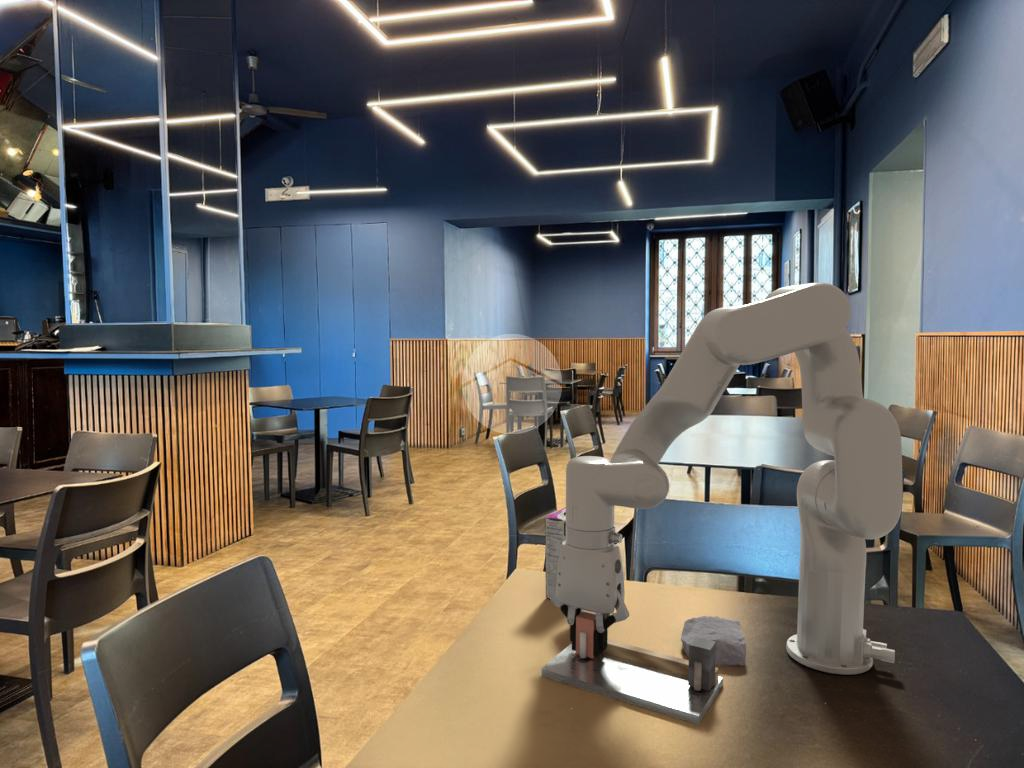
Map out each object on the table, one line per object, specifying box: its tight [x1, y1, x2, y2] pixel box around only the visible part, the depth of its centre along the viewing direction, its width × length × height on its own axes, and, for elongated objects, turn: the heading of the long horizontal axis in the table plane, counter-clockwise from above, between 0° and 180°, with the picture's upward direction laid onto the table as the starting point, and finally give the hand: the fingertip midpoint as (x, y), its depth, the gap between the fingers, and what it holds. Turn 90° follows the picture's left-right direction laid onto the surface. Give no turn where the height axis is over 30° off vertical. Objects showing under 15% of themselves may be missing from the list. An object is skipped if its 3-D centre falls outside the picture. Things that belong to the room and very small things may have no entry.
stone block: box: [680, 615, 747, 667], centre depth 113 cm, size 12×5×10 cm
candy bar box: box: [544, 506, 566, 598], centre depth 136 cm, size 11×5×16 cm, turn 148°
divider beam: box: [603, 637, 719, 691], centre depth 104 cm, size 23×6×6 cm, turn 58°
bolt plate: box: [540, 642, 724, 725], centre depth 102 cm, size 24×12×1 cm, turn 58°
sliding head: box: [576, 610, 596, 658], centre depth 108 cm, size 3×4×6 cm
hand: (588, 649), depth 108 cm, fingers closed on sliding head, 3 cm apart
